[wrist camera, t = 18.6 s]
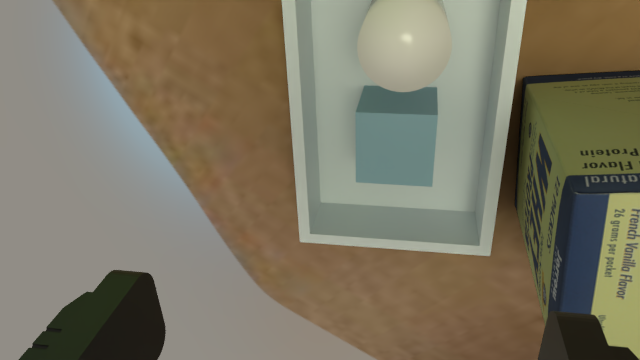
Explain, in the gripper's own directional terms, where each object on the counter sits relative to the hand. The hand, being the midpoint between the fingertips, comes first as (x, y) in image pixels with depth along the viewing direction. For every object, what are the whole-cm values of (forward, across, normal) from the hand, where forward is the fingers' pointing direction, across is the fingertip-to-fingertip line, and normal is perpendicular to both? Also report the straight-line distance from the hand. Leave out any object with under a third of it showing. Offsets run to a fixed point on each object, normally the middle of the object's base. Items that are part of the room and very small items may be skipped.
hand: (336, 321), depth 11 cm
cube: (+28, 0, +7) cm, 28 cm away
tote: (+28, 0, +6) cm, 29 cm away
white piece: (+27, 0, 0) cm, 27 cm away
